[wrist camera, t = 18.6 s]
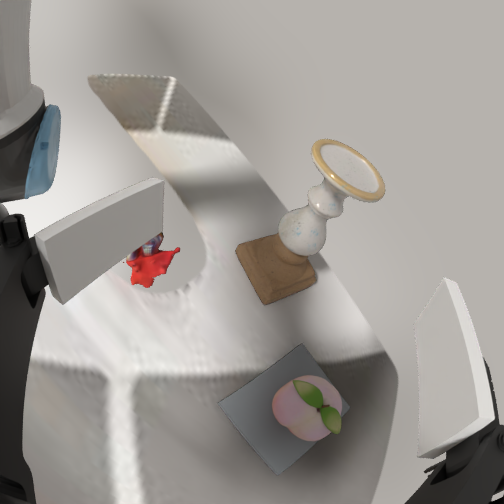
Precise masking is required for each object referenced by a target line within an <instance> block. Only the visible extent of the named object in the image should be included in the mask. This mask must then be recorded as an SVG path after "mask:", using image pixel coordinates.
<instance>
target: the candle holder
mask: <svg viewBox="0 0 504 504" xmlns="http://www.w3.org/2000/svg"><path fill="white" fill-rule="evenodd" d="M311 156H312V159H313V161H314V164H315V166H316V167H317V168H318V170H319V171H320V172H321V174H322V175H323V176H324V180H323V182H322V184H320V185H318V186H314V187H312V188H310V190H309V191H308V205H307V206H305V207H303V208H299V209H295V210H292V211H290V212H288V213H287V214H285V215H284V216H283V217H282V219H281V220H280V222H279V226H278V233H277V234H275V235H270V236H266V237H263V238H259V239H256V240H252V241H249V242H245V243H242V244H239V245H238V247H237V249H236V250H235V251H236V254H237V256H238V259H239V261H240V263H241V264H242V266H243V268H244V270H245V272H246V274H247V276H248V278H249V280H250V281H251V283H252V285H253V287H254V289H255V291H256V293H257V295H258V296H259V298H260V300H261V301H262V303H263V304H264V305H267V304H270V303H272V302H275V301H278V300H280V299H282V298H285V297H287V296H290V295H292V294H294V293H297V292H299V291H301V290H304V289H306V288H308V287H310V286H311V285H312V284H313V283H314V282H315V281H316V278H315V276H314V275H315V272H314V270H313V268H312V266H311V264H310V262H309V261H308V259H307V258H308V256H311V255H314V254H316V253H317V252H319V251H320V250H321V248H322V247H323V245H324V243H325V240H326V222H327V220H328V219H330V218H335V217H338V216H340V215H341V214H342V212H343V201H344V199H345V198H347V197H348V196H350V197H352V198H355V199H357V200H359V201H363V202H369V203H370V202H377V201H379V200H380V199H381V198H382V197H383V196H384V194H385V185H384V182H383V179H382V177H381V176H380V174H379V173H378V171H377V170H376V169H375V167H374V166H373V165H372V164H371V163H370V162H369V161H368V160H367V159H366V158H365V157H364V156H362V155H361V154H360V153H358V152H357V151H356V150H354V149H352V148H351V147H349V146H347V145H345V144H343V143H341V142H338V141H334V140H330V139H322V140H318V141H316V142H315V143H314V145H313V146H312V149H311Z"/></svg>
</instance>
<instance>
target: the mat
mask: <svg viewBox="0 0 504 504" xmlns="http://www.w3.org/2000/svg"><path fill="white" fill-rule="evenodd" d="M306 375H313V376H318V377H321V378H323V379H325V380H326V381H328V382H329V383H330V384H331V385H333V384H332V383H331V381H330V380H329V379H328V377H327V376H326V375H325V373H324V372H323V371H322V369H321V368H320V367H319V365H318V364H317V362H316V361H315V360H314V358H313V357H312V356H311V354H310V353H309V352H308V350H307V349H306V348H305V346H304V345H303V344H300V345H299V346H297V347H296V348H295V349H294V350H292V351H291V352H290V353H288V354H287V355H286V356H285V357H283V358H282V359H281V360H279V361H278V362H277V363H275V364H274V365H272V366H271V367H270V368H268V369H267V370H266V371H264V372H263V373H261V374H260V375H259V376H257V377H256V378H254V379H253V380H251V381H250V382H249V383H247V384H246V385H244V386H243V387H241V388H240V389H238V390H237V391H235V392H234V393H232V394H231V395H229V396H228V397H226V398H225V399H223V400H222V401H220V402H218V405H219V406H220V407H221V409H222V410H223V411H224V413H225V414H226V415H227V417H228V418H229V419H230V421H231V422H232V423H233V424H234V426H235V427H236V428H237V430H238V431H239V432H240V433H241V435H242V436H243V437H244V438H245V440H246V441H247V442H248V443H249V444H250V446H251V447H252V448H253V449H254V450H255V451H256V453H257V454H258V455H259V456H260V457H261V458H262V460H263V461H264V462H265V463H266V464H267V465H268V466H269V467H270V469H271V470H272V471H273V472H274V473H275V474H276V475H279V474H281V473H282V472H283V471H284V470H286V469H287V468H288V467H289V466H291V465H292V464H293V463H294V462H295V461H297V460H298V459H299V458H300V457H301V456H302V455H303V454H305V453H306V452H307V451H308V450H309V449H310V448H311V447H312V446H313V445H314V444H316V443H317V442H318V441H319V440H317V441H306V440H303V439H300V438H298V437H297V436H295V435H294V434H292V433H291V432H290V431H289V429H288V428H287V427H285V426H283V425H281V424H280V423H279V422H278V421H277V419H276V418H275V416H274V413H273V410H272V402H273V398H274V396H275V394H276V392H277V391H278V390H279V389H280V388H281V387H283V386H284V385H285V384H287V383H288V382H290V381H292V380H294V379H296V378H298V377H301V376H306ZM333 386H334V385H333ZM335 389H336V388H335ZM336 390H337V389H336ZM338 393H339V392H338ZM339 394H340V393H339ZM340 397H341V401H342V411H341V418H342V417H343V416H344V414H345V413H346V412H347V411H348V410H349V409H350V407H349V405H348V404H347V403H346V401H345V400H344V399H343V397H342V396H341V395H340Z"/></svg>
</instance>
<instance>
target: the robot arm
mask: <svg viewBox="0 0 504 504" xmlns="http://www.w3.org/2000/svg"><path fill="white" fill-rule="evenodd" d="M30 8H31V0H0V504H36V499H35V492H34V484H33V478H32V473H31V471H30V468H29V466H28V465H27V463H26V461H25V460H24V457H23V451H22V430H23V409H24V398H25V389H26V381H27V374H28V367H29V361H30V356H31V351H32V346H33V341H34V337H35V332H36V328H37V324H38V320H39V316H40V313H41V309H42V306H43V302H44V299H45V294H46V292H45V289H44V287H45V286H47V285H48V284H49V287H50V290H51V293H52V295H53V297H54V298H55V299H57V300H58V301H59V302H60V303H61V304H62V305H64V304H65V303H66V302H67V301H69V300H70V299H71V298H72V297H74V296H75V295H76V294H77V293H79V292H80V291H81V290H82V289H84V288H85V287H86V286H88V285H89V284H90V283H92V282H93V281H94V280H95V279H97V278H98V277H99V276H101V275H102V274H103V273H105V272H106V271H107V270H109V269H110V268H111V267H112V266H114V265H115V264H117V263H118V262H120V261H121V260H122V259H124V258H125V257H126V256H128V255H129V254H131V253H132V252H133V251H135V250H136V249H138V248H139V247H141V246H142V245H143V244H145V243H146V242H148V241H149V240H151V239H152V238H154V237H155V236H156V235H158V234H159V233H161V232H162V231H163V197H164V180H160V179H157V178H153V177H152V178H149V179H147V180H144V181H142V182H139V183H137V184H135V185H132V186H130V187H127V188H125V189H123V190H121V191H119V192H116V193H114V194H112V195H109V196H107V197H105V198H103V199H101V200H99V201H96V202H94V203H92V204H90V205H88V206H86V207H84V208H82V209H80V210H78V211H76V212H74V213H72V214H70V215H68V216H66V217H65V218H63V219H61V220H59V221H57V222H55V223H54V224H52V225H50V226H48V227H47V228H45V229H43V230H41V231H39V232H38V233H36V234H34V235H35V236H34V237H31V238H30V239H29V236H28V232H27V227H26V223H25V218H24V215H22V214H13V215H9V213H8V211H7V209H6V208H5V206H4V205H3V204H1V203H3V202H9V201H14V200H20V199H28V198H29V197H31V196H35V195H39V194H43V193H45V192H46V191H47V190H49V188H50V187H51V185H52V183H53V181H54V177H55V173H56V167H57V160H58V152H59V141H60V125H61V115H60V110H59V107H58V106H56V105H49V106H47V107H46V106H45V101H44V93H43V90H42V89H41V88H40V87H38V86H36V85H33V84H31V78H30V62H29V24H30ZM414 330H415V339H416V349H417V360H418V374H419V375H418V376H419V438H418V452H417V457H419V458H431V459H434V458H436V457H438V456H439V455H441V454H443V453H445V452H446V459H445V460H443V461H442V462H439V463H437V464H435V465H434V466H431V467H429V468H428V469H426V470H425V471H424V473H427V472H430V471H432V470H434V471H433V472H432V473H431V474H430V475H428V478H427V479H426V481H425V482H424V483H423V484H422V485H421V487H420V488H419V489H418V490H417V491H416V492H415V493H414V494H413V495H412V496H411V497H410V499H409V500H408V501H407V502H406V503H405V504H504V495H503V497H502V498H499V499H497V500H495V501H491V499H492V496H493V495H495V494H497V493H499V492H501V491H503V490H504V425H500V424H499V418H498V410H497V404H496V399H495V393H494V391H493V389H494V388H493V383H492V382H491V380H492V379H491V375H490V370H489V367H488V365H487V363H486V361H485V360H484V358H483V357H482V353H481V349H480V346H479V343H478V339H477V336H476V333H475V330H474V327H473V324H472V321H471V318H470V316H469V312H468V310H467V307H466V304H465V302H464V300H463V297H462V294H461V292H460V290H459V287H458V285H457V283H456V282H454V281H452V280H449V279H447V278H445V277H444V278H443V279H442V281H441V283H440V284H439V286H438V288H437V289H436V291H435V292H434V294H433V296H432V297H431V299H430V300H429V302H428V304H427V305H426V307H425V308H424V310H423V311H422V313H421V314H420V315H419V317H418V319H417V320H416V321H415V323H414Z"/></svg>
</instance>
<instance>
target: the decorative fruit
mask: <svg viewBox="0 0 504 504" xmlns="http://www.w3.org/2000/svg"><path fill="white" fill-rule="evenodd" d="M272 410H273V413H274V416H275V418H276V419H277V421H278V422H279V423H280V424H281V425H283V426H285V427H287V428H288V429H289V431H290V432H291V433H292V434H294V435H295V436H297V437H298V438H300V439H303V440H306V441H317V440H320V439H322V438H324V437H326V436H327V435H328V434H330V433H331V432H333V433H335V434H339V432H340V430H341V411H342V401H341V397H340V394H339V393H338V391H337V390H336V389H335V387H334V386H333V385H331V384H330V383H329V382H328V381H326V380H325V379H323V378H321V377H318V376H313V375H306V376H301V377H298V378H296V379H294V380H292V381H290V382H288V383H287V384H285V385H284V386H283V387H281V388H280V389H279V390H278V391H277V392H276V394H275V396H274V398H273V402H272Z"/></svg>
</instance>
